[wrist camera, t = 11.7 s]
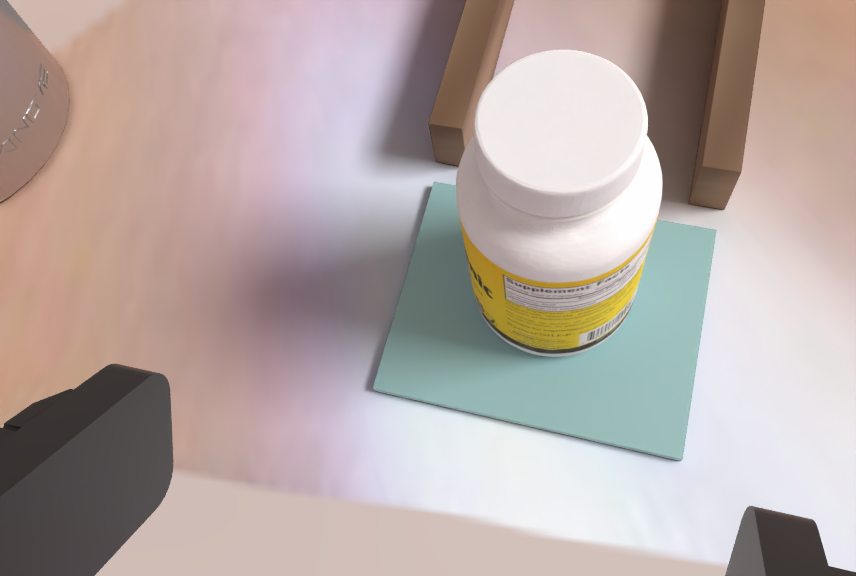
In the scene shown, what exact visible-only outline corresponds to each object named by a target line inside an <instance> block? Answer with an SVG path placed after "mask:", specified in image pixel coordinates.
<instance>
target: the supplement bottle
mask: <svg viewBox="0 0 856 576" xmlns="http://www.w3.org/2000/svg"><path fill="white" fill-rule="evenodd" d="M473 129H474V135H473V137H472V138H471V140H470V142H469V143H468V145H467V147H466V149H465V151H464V153H463V155H462V158H461V161H460V164H459V167H458V172H457V178H456V198H457V207H458V214H459V219H460V224H461V229H462V234H463V239H464V246H465V251H466V256H467V261H468V265H469V270H470V275H471V281H472V287H473V292H474V295H475V299H476V302H477V305H478V308H479V310H480V312H481V314H482V316H483V318H484V319H485V321H486V322H487V324H488V325H489V327H490V328H491V329H492V330H493V331H494V332H495V333H496V334H497V335H498V336H499V337H500V338H502V339H503V340H504V341H506V342H507V343H509V344H510V345H512V346H514V347H516V348H518V349H520V350H522V351H525V352H528V353H531V354H535V355H540V356H548V357H563V356H571V355H576V354H580V353H583V352H586V351H588V350H590V349H592V348H594V347H596V346H598V345H600V344H601V343H603V342H604V341H606V340H607V339H608V338H609V337H611V336H612V335H613V334H614V333H615V332H616V331H617V330H618V329H619V327H620V326H621V325H622V323H623V322H624V321H625V319H626V317H627V315H628V313H629V311H630V309H631V307H632V304H633V301H634V298H635V295H636V292H637V289H638V285H639V281H640V278H641V275H642V270H643V266H644V264H645V259H646V255H647V253H648V249H649V246H650V242H651V239H652V235H653V232H654V229H655V225H656V222H657V219H658V215H659V208H660V203H661V198H662V172H661V167H660V162H659V159H658V156H657V153H656V151H655V149H654V146H653V144H652V143H651V141H650V139H649V138H648V136H647V130H648V116H647V109H646V105H645V102H644V99H643V97H642V95H641V93H640V91H639V89H638V87H637V86H636V85H635V83H634V82H633V81H632V79H631V78H630V77H629V76H628V75H627V74H626V73H625V72H624V71H623V70H621V69H620V68H619V67H617V66H616V65H614V64H613V63H612V62H610V61H608V60H606V59H604V58H601V57H599V56H596V55H593V54H590V53H586V52H582V51H575V50H549V51H544V52H539V53H535V54H531V55H529V56H526V57H523V58H521V59H519V60H517V61H515V62H513V63H511V64H510V65H508V66H507V67H506V68H504V69H503V70H502V71H500V72H499V73H498V74H497V75H496V76H495V77H494V78H493V79H492V80H491V81H490V82H489V84H488V85H487V86H486V88H485V89H484V91H483V92H482V94H481V96H480V99H479V101H478V103H477V106H476V110H475V115H474V123H473Z"/></svg>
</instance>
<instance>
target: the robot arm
mask: <svg viewBox="0 0 856 576" xmlns="http://www.w3.org/2000/svg"><path fill="white" fill-rule="evenodd" d="M69 104H70V98H69V89H68V82H67V80H66V77H65V75H64V72H63V70H62V67H61V66H60V65H59V64H58V62H57V61H56V60H55V59H54V57H53V56H52V55H51V54H50V52H49V51H48V50H47V49H46V48H45V47H44V45H43V44H42V43H41V41H40V40H39V39H38V38H37V37H36V35H35V34H34V33H33V32H32V30H31V29H30V28H29V27H28V26H27V24H26V23H25V22H24V21H23V20H22V18H21V17H20V16H19V15H18V13H17V12H16V11H15V10H14V8H13V7H12V6H11V5H10V4H9V2H8V1H7V0H0V202H1V201H3V200H5V199H6V198H8V197H10V196H11V195H12V194H14V193H15V192H16V191H17V190H19V189H20V188H21V187H22V186H23V185H25V184H26V183H27V182H28V181H30V180H31V179H32V178H33V176H34V175H35V174H36V173H37V172H38V171H39V170H40V168H41V167H42V166H43V165H44V164H45V163H46V162H47V160H48V159H49V157H50V155H51V154H52V152H53V151H54V149H55V147H56V146H57V144H58V143H59V141H60V138H61V135H62V133H63V130H64V128H65V125H66V122H67V117H68V111H69ZM172 473H173V445H172V422H171V399H170V386H169V382H168V380H167V378H166V377H165V376H164V375H163V374H160V373H155V372H151V371H146V370H142V369H137V368H133V367H128V366H124V365H119V364H110V365H108V366H106V367H105V368H103V369H102V370H100V371H99V372H98V373H96V374H95V375H93V376H92V377H91V378H89V379H88V380H86V381H85V382H84V383H82V384H81V385H80V386H78V387H77V388H75V389H74V390H73V389H69V390H66V391H64V392H61V393H59V394H56V395H53V396H51V397H48V398H46V399H43V400H40V401H38V402H35V403H33V404H31V405H30V406H29V407H27V408H26V409H24V410H23V411H21V412H20V413H18V414H17V415H16V416H14V417H13V418H11V419H10V420H8V421H7V422H6V423H4V427H3V428H0V576H94V575H95V574H96V573H97V572H98V571H99V570H100V569H101V568H102V567H103V566H104V564H106V563H107V562H108V560H109V559H110V558H111V557H112V556H113V555H114V554H115V553H116V552H117V551H118V550H119V549H120V548H121V546H122V545H123V544H124V543H125V542H126V541H127V540H128V539H129V538H130V537H131V535H133V533H134V532H135V531H136V530H137V529H138V528H139V527H140V526H141V525H142V524H143V523H144V522H145V521H146V519H147V518H148V517H149V516H150V515H151V514H152V513H153V512H154V511H155V510H156V509H157V507H158V506H159V505H160V503H161V502H162V500H163V498H164V497H165V495H166V492H167V490H168V488H169V485H170V481H171V478H172ZM725 576H856V572H852V571H847V570H843V569H839V568H834V567H830V566H828V563H827V559H826V556H825V552H824V549H823V545H822V542H821V538H820V535H819V531H818V528H817V525H816V523H815V521H814V520H812V519H808V518H803V517H799V516H794V515H790V514H785V513H781V512H776V511H772V510H767V509H763V508H758V507H754V506H749V507H748V508H747V509H746V511H745V513H744V515H743V517H742V521H741V524H740V527H739V531H738V534H737V537H736V541H735V544H734V548H733V551H732V555H731V558H730V561H729V565H728V568H727V572H726V575H725Z"/></svg>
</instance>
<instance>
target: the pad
mask: <svg viewBox="0 0 856 576" xmlns="http://www.w3.org/2000/svg"><path fill="white" fill-rule="evenodd" d="M715 236H716V230H714V229H708V228H702V227H696V226H690V225H685V224H679V223H673V222H667V221H661V220H657V222H656V225H655V229H654V232H653V235H652V239H651V242H650V246H649V249H648V253H647V255H646V259H645V264H644V266H643V270H642V275H641V278H640V281H639V285H638V289H637V292H636V295H635V298H634V301H633V304H632V307H631V309H630V311H629V313H628V315H627V317H626V319H625V321H624V322H623V323H622V325H621V326H620V327H619V329H618V330H617V331H616V332H615V333H614V334H613V335H612V336H611V337H609V338H608V339H607V340H606V341H604V342H603V343H601V344H600V345H598V346H596V347H594V348H592V349H590V350H588V351H586V352H583V353H580V354H576V355H571V356H563V357H548V356H540V355H535V354H531V353H528V352H525V351H522V350H520V349H518V348H516V347H514V346H512V345H510V344H509V343H507V342H506V341H504V340H503V339H502V338H500V337H499V336H498V335H497V334H496V333H495V332H494V331H493V330H492V329H491V328H490V327H489V325H488V324H487V322H486V321H485V319H484V318H483V316H482V314H481V312H480V310H479V308H478V305H477V302H476V299H475V295H474V292H473V287H472V281H471V275H470V270H469V265H468V261H467V256H466V251H465V246H464V239H463V234H462V229H461V224H460V219H459V214H458V207H457V198H456V185H450V184H444V183H438V182H434V183H433V186H432V189H431V193H430V196H429V200H428V203H427V206H426V210H425V213H424V216H423V220H422V223H421V227H420V230H419V233H418V237H417V240H416V243H415V247H414V250H413V254H412V257H411V260H410V264H409V267H408V270H407V274H406V277H405V281H404V284H403V287H402V291H401V294H400V297H399V301H398V304H397V308H396V311H395V314H394V318H393V321H392V324H391V328H390V331H389V335H388V338H387V341H386V345H385V348H384V351H383V355H382V358H381V362H380V365H379V368H378V372H377V375H376V378H375V382H374V385H373V390H374V391H378V392H382V393H386V394H391V395H395V396H399V397H404V398H408V399H412V400H417V401H421V402H425V403H430V404H434V405H438V406H443V407H447V408H452V409H456V410H460V411H465V412H469V413H473V414H478V415H482V416H486V417H491V418H495V419H499V420H504V421H508V422H512V423H517V424H521V425H526V426H530V427H534V428H539V429H543V430H547V431H552V432H556V433H560V434H565V435H569V436H573V437H578V438H582V439H586V440H591V441H595V442H599V443H604V444H608V445H613V446H617V447H621V448H626V449H630V450H634V451H639V452H643V453H647V454H652V455H656V456H660V457H665V458H669V459H673V460H678V461H681V460H682V459H683V452H684V445H685V439H686V432H687V425H688V418H689V412H690V405H691V398H692V391H693V385H694V378H695V371H696V364H697V358H698V351H699V344H700V337H701V331H702V324H703V317H704V310H705V304H706V297H707V290H708V283H709V277H710V270H711V263H712V256H713V250H714V243H715Z"/></svg>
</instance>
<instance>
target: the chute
mask: <svg viewBox="0 0 856 576" xmlns="http://www.w3.org/2000/svg"><path fill="white" fill-rule="evenodd" d="M513 3H514V0H466V3H465V6H464V10H463V13H462V16H461V19H460V23H459V26H458V29H457V32H456V36H455V39H454V42H453V45H452V49H451V52H450V55H449V58H448V62H447V65H446V68H445V71H444V75H443V78H442V81H441V84H440V87H439V91H438V94H437V97H436V100H435V104H434V107H433V110H432V113H431V117H430V120H429V123H428V124H429V129H430V134H431V139H432V143H433V148H434V153H435V158H436V162H439V163H445V164H451V165H457V166H459V164H460V161H461V158H462V155H463V153H464V151H465V149H466V147H467V145H468V143H469V142H470V140H471V138H472V137H473V135H474V129H473V123H474V115H475V110H476V106H477V103H478V101H479V99H480V96H481V94H482V92H483V91H484V89H485V88H486V86H487V85H488V84H489V82H490V81H491V80H492V78H493V75H494V71H495V67H496V64H497V60H498V57H499V53H500V50H501V46H502V43H503V39H504V35H505V32H506V28H507V25H508V21H509V18H510V14H511V10H512V7H513ZM764 5H765V0H722V5H721V11H720V17H719V23H718V29H717V36H716V42H715V48H714V54H713V60H712V66H711V72H710V78H709V84H708V90H707V96H706V103H705V109H704V115H703V121H702V127H701V133H700V139H699V145H698V151H697V157H696V163H695V170H694V176H693V182H692V188H691V194H690V200H689V204H693V205H699V206H705V207H711V208H717V209H723V210H724V209H725V207H726V205H727V203H728V200H729V198H730V196H731V194H732V191H733V189H734V187H735V185H736V183H737V180H738V178H739V176H740V174H741V170H742V163H743V155H744V148H745V141H746V134H747V127H748V120H749V113H750V105H751V98H752V91H753V84H754V77H755V70H756V63H757V55H758V48H759V41H760V34H761V27H762V20H763V13H764Z"/></svg>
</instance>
